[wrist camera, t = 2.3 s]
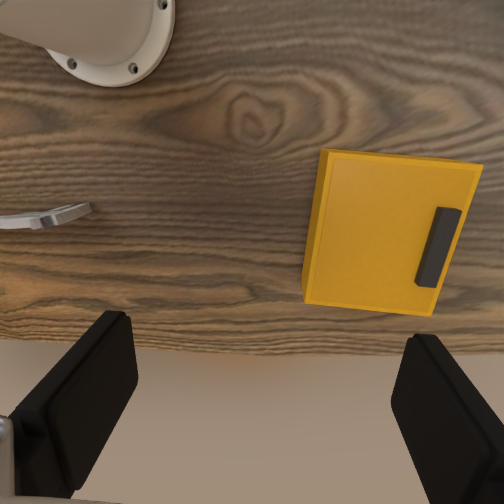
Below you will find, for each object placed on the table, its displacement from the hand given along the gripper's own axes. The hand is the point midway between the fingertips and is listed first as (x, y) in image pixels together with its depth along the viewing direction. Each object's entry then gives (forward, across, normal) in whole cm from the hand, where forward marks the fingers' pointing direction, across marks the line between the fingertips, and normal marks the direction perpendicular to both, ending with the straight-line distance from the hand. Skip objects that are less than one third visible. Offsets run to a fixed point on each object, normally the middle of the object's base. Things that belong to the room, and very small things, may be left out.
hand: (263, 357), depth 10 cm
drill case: (+23, -10, +2) cm, 25 cm away
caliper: (+23, +29, +3) cm, 37 cm away
